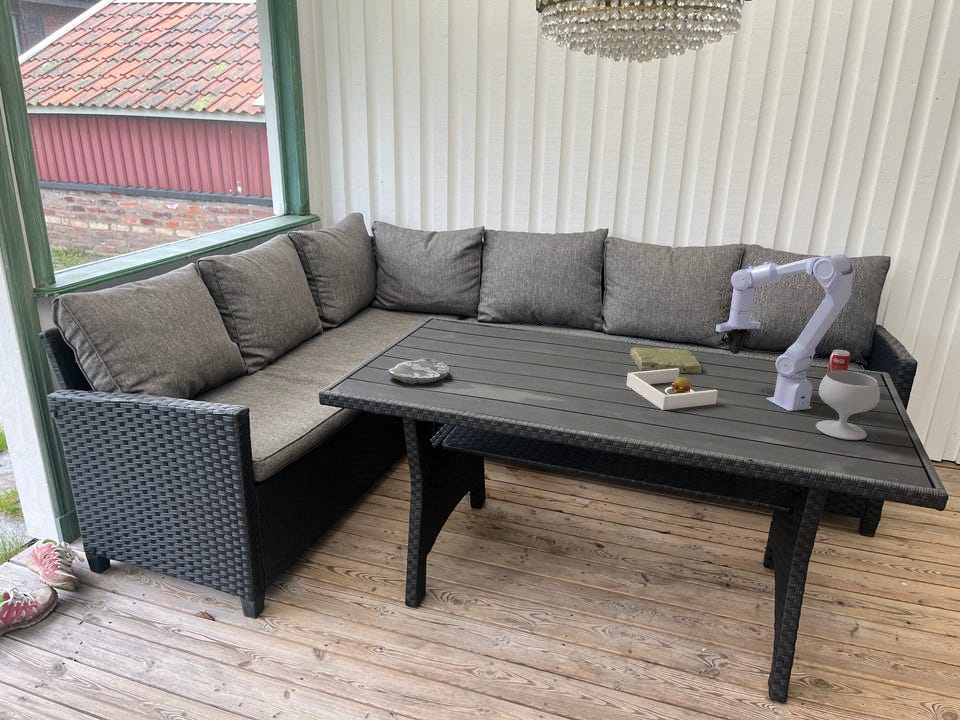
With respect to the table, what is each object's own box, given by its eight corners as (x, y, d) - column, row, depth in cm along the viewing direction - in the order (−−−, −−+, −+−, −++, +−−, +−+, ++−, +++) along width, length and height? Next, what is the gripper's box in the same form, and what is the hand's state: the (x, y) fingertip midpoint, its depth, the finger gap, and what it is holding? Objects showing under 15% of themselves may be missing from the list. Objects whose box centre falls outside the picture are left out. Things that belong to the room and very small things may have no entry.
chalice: (824, 416, 191) (834, 365, 187) (878, 432, 182) (891, 379, 177) (802, 430, 182) (812, 376, 177) (859, 448, 173) (871, 391, 168)
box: (715, 403, 198) (717, 390, 197) (662, 410, 193) (664, 396, 192) (676, 380, 216) (677, 368, 215) (626, 385, 211) (627, 372, 210)
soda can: (826, 384, 216) (833, 347, 212) (844, 388, 213) (852, 351, 209) (822, 389, 212) (830, 352, 208) (841, 393, 209) (849, 355, 205)
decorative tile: (629, 355, 240) (630, 345, 239) (687, 357, 240) (688, 347, 239) (639, 373, 223) (641, 363, 222) (702, 375, 223) (703, 365, 221)
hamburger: (654, 397, 204) (656, 380, 202) (665, 385, 213) (667, 368, 212) (695, 406, 198) (698, 388, 196) (705, 393, 208) (707, 376, 206)
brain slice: (422, 392, 202) (422, 383, 201) (380, 379, 211) (380, 370, 210) (463, 375, 217) (464, 366, 216) (423, 363, 226) (423, 355, 225)
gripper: (751, 304, 212) (745, 347, 216) (711, 307, 207) (706, 350, 211) (767, 310, 205) (760, 353, 210) (727, 313, 201) (720, 357, 205)
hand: (734, 352), depth 210 cm, fingers closed
